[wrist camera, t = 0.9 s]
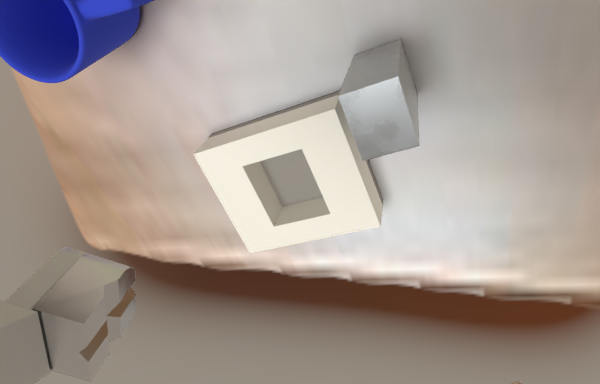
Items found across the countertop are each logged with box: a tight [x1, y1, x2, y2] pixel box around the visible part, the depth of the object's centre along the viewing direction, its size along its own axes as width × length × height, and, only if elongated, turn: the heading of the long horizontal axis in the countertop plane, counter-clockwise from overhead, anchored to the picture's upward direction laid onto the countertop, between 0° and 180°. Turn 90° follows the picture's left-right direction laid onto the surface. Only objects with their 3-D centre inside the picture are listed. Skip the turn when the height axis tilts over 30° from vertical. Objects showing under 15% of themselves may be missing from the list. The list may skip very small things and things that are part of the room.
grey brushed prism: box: [338, 38, 419, 161], centre depth 33 cm, size 4×5×10 cm
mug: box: [0, 0, 154, 83], centre depth 34 cm, size 8×12×10 cm
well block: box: [194, 91, 383, 253], centre depth 42 cm, size 14×12×4 cm
